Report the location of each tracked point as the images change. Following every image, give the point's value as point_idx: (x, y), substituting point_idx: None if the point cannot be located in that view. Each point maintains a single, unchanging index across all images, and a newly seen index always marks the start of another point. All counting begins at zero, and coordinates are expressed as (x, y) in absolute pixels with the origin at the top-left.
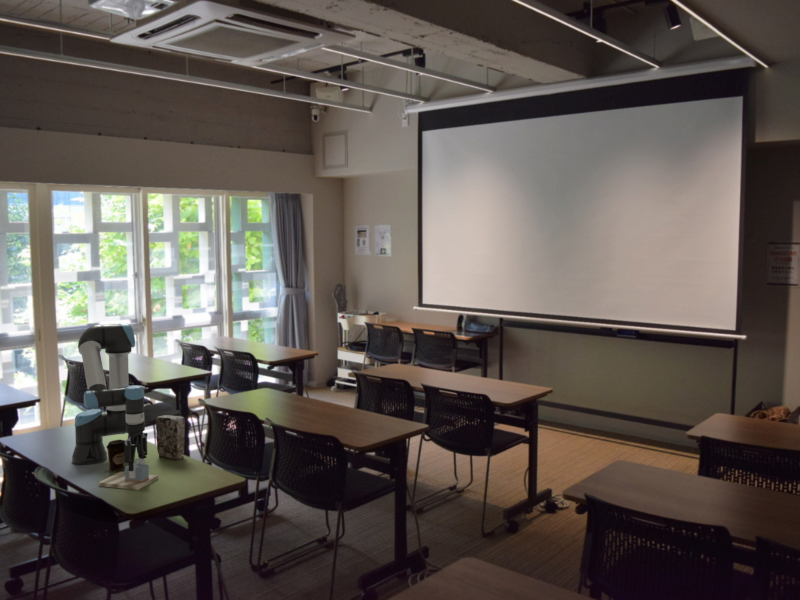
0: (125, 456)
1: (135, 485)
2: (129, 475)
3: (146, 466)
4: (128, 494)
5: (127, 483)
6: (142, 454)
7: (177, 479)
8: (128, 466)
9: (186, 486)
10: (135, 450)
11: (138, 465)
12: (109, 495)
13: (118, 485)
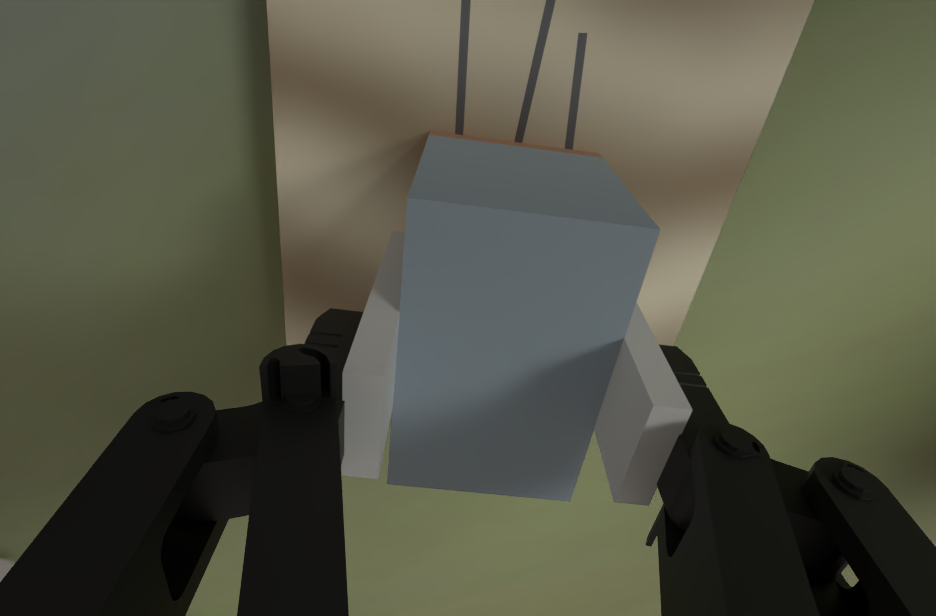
0: (36, 576)
1: (306, 332)
2: (385, 251)
3: (520, 486)
4: (161, 314)
5: (340, 214)
6: (663, 586)
7: (617, 519)
8: (455, 253)
9: (464, 602)
10: None
11: (525, 394)
12: (32, 126)
13: (279, 105)
